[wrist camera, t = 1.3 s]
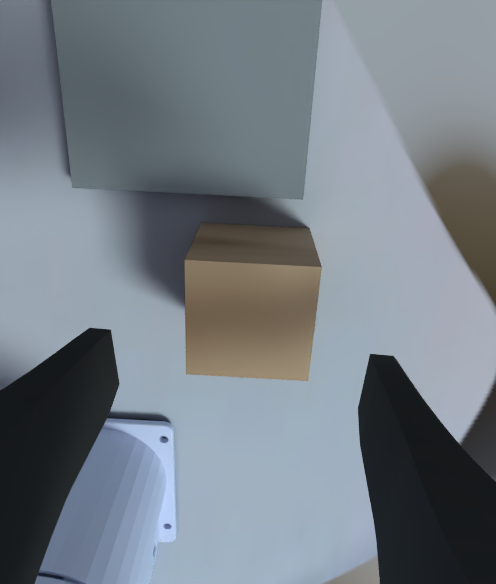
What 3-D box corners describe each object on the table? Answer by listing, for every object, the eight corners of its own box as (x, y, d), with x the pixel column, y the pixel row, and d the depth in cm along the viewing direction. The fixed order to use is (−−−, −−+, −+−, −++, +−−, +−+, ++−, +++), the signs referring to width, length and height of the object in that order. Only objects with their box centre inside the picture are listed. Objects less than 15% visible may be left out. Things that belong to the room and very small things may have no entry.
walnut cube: (299, 322, 23) (308, 380, 19) (201, 317, 23) (186, 374, 19) (309, 227, 21) (321, 267, 17) (201, 221, 21) (184, 259, 17)
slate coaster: (301, 195, 20) (303, 199, 20) (79, 183, 21) (72, 187, 20) (327, -85, 16) (330, -93, 16) (48, -97, 16) (38, -106, 16)
